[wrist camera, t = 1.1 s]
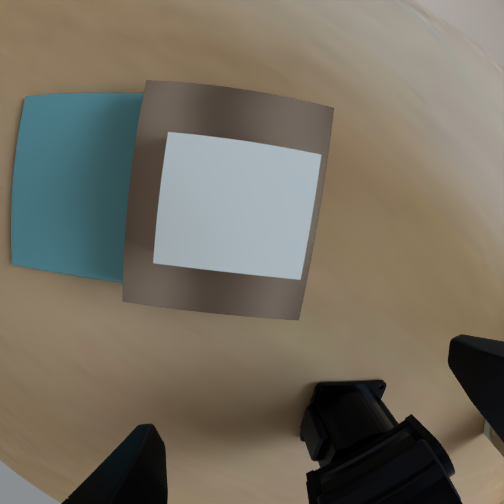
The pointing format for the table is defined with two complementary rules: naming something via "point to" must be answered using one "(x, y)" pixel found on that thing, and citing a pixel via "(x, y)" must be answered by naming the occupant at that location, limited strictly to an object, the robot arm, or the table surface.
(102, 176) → the mat
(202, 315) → the table surface
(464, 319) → the table surface
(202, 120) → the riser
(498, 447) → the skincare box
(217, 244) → the tile
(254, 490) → the table surface
